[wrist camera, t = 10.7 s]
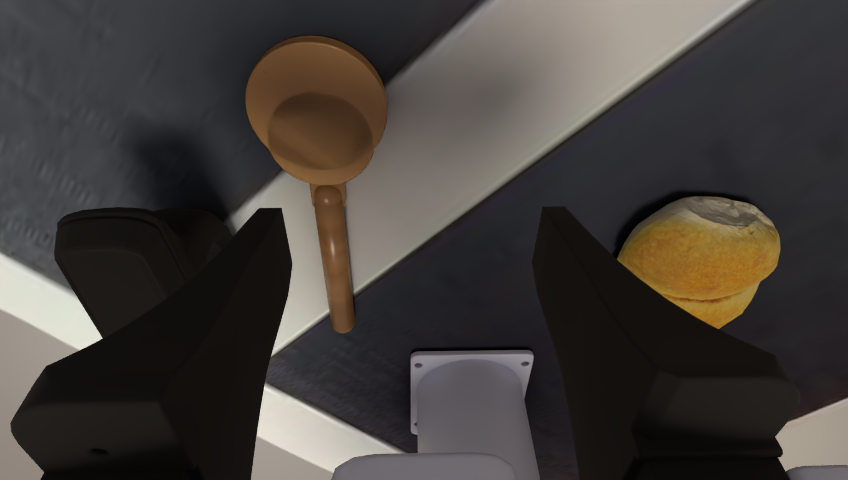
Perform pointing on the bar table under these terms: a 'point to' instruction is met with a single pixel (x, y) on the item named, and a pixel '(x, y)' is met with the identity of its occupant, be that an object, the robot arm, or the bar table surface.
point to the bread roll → (704, 255)
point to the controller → (133, 257)
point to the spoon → (320, 137)
